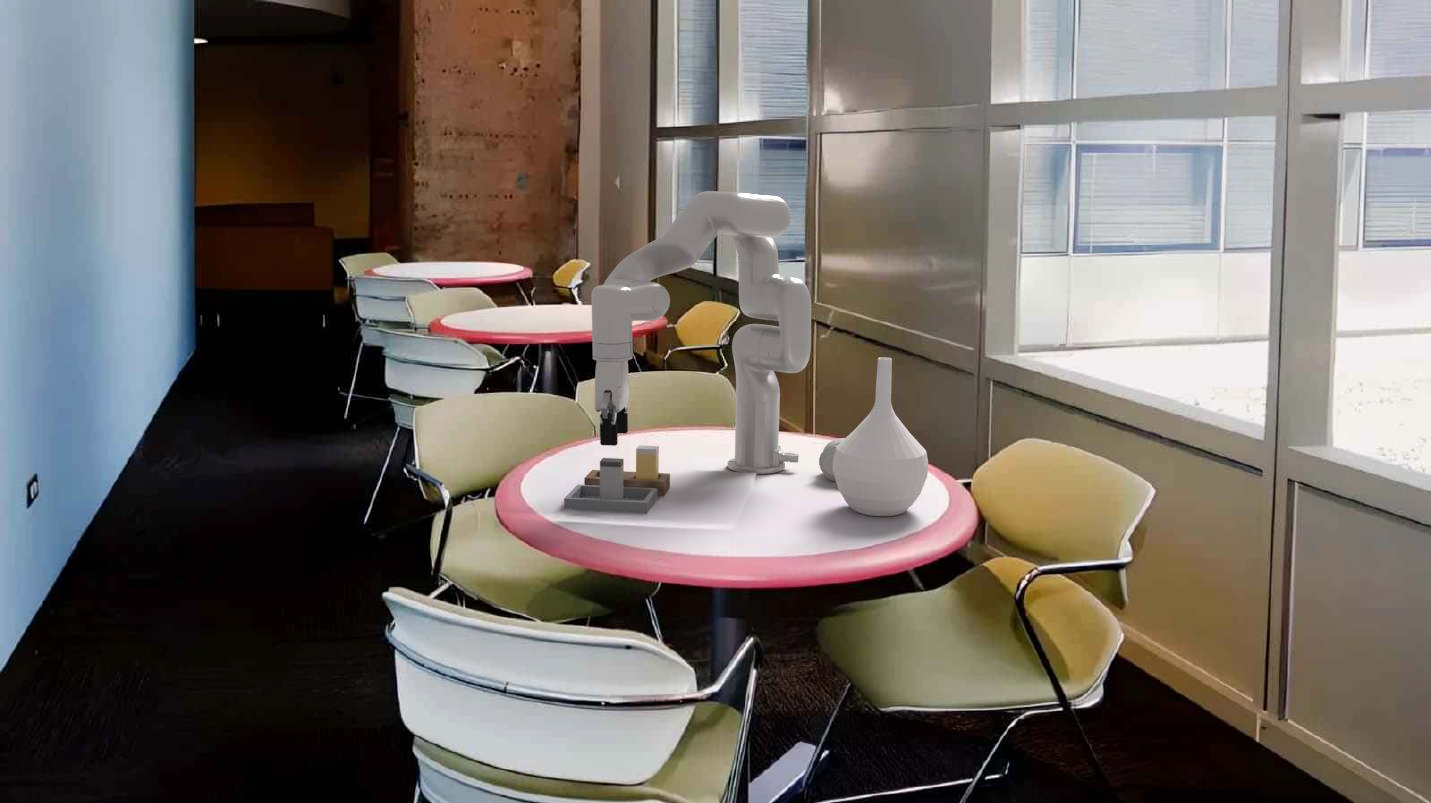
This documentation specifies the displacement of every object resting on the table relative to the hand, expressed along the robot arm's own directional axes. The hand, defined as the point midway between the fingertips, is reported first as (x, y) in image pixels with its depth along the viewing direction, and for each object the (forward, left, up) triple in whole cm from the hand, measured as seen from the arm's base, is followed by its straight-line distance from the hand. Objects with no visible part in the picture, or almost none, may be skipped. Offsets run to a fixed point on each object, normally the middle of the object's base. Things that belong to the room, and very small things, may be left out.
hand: (614, 438), depth 251 cm
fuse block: (-1, -10, -14) cm, 17 cm away
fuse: (-5, -10, -13) cm, 17 cm away
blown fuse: (0, +1, -13) cm, 13 cm away
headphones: (-48, -33, -14) cm, 60 cm away
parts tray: (0, +1, -14) cm, 14 cm away
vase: (-51, -8, -14) cm, 53 cm away
